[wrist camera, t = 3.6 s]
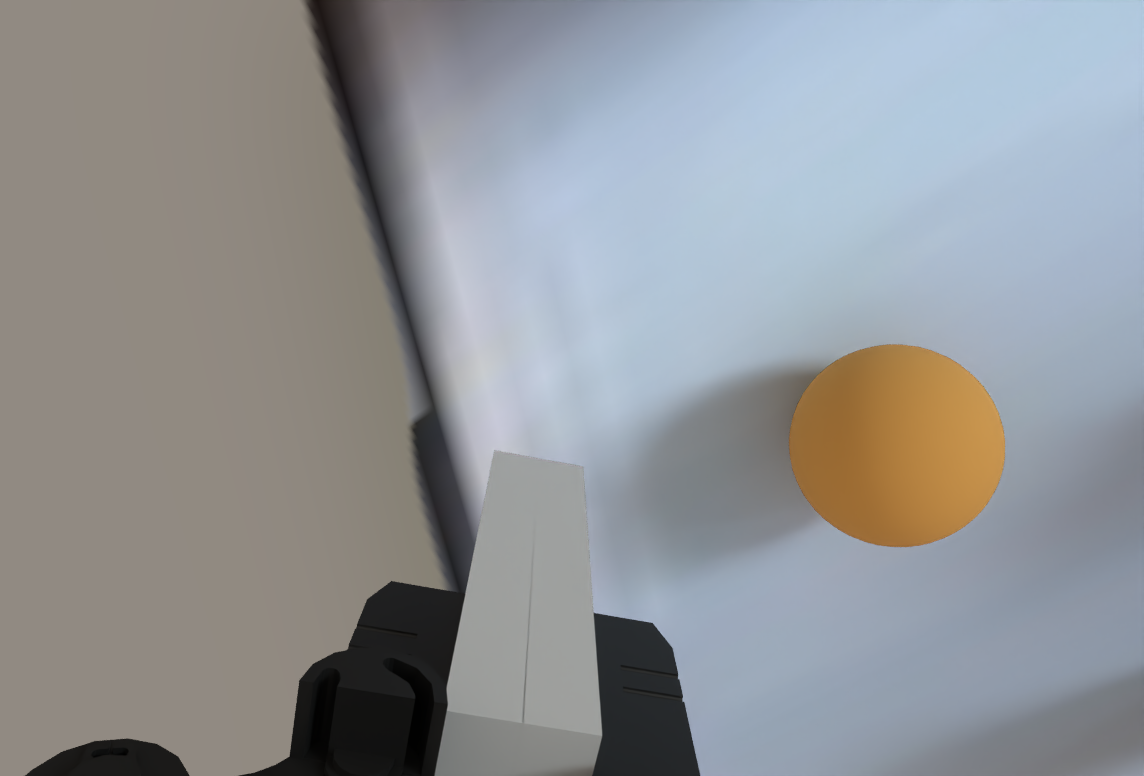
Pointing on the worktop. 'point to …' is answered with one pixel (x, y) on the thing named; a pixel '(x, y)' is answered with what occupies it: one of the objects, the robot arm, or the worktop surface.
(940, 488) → the ball
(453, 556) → the worktop surface
